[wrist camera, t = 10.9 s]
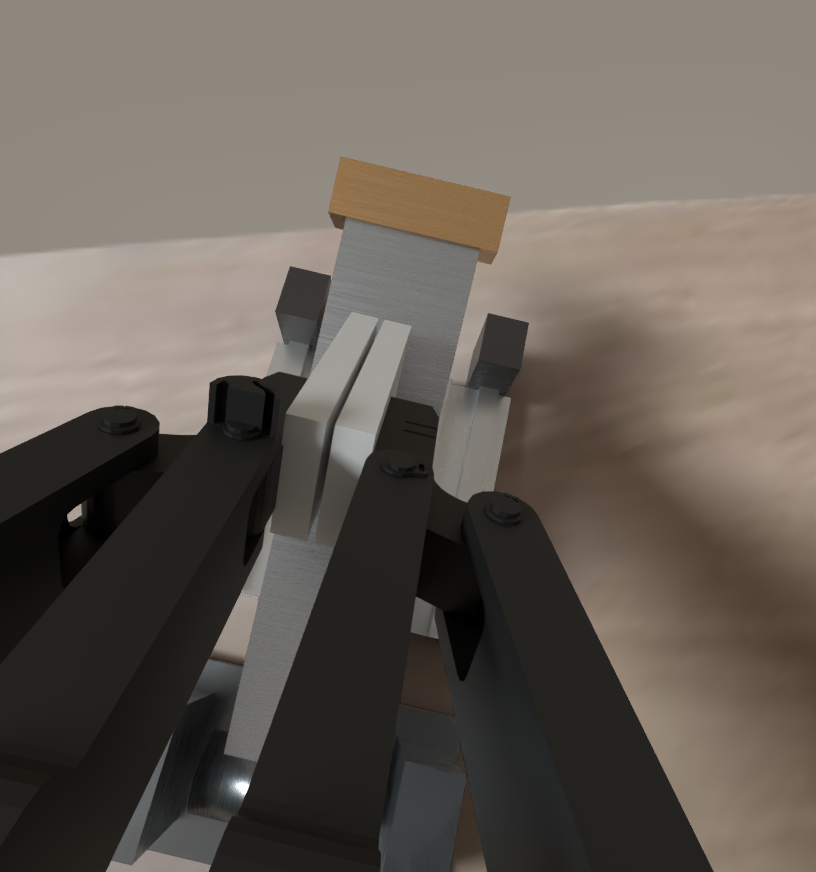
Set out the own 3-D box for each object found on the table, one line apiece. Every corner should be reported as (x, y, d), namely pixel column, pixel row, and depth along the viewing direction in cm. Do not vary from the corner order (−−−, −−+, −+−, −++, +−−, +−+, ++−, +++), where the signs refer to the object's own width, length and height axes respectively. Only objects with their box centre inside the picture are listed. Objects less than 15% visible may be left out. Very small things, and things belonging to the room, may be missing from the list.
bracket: (526, 364, 27) (561, 308, 23) (426, 906, 21) (444, 987, 16) (281, 306, 27) (264, 238, 23) (110, 830, 21) (36, 888, 16)
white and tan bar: (359, 819, 21) (504, 218, 20) (351, 872, 19) (516, 192, 18) (208, 783, 21) (345, 180, 20) (181, 831, 19) (335, 150, 18)
